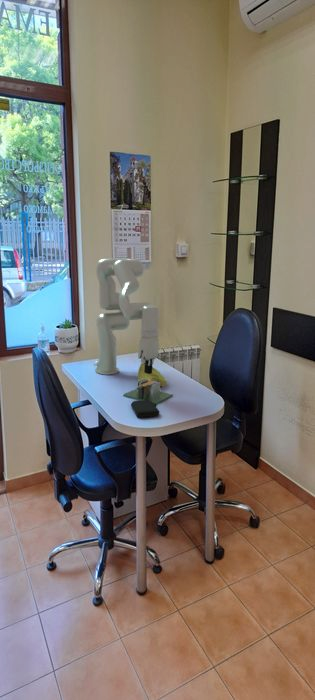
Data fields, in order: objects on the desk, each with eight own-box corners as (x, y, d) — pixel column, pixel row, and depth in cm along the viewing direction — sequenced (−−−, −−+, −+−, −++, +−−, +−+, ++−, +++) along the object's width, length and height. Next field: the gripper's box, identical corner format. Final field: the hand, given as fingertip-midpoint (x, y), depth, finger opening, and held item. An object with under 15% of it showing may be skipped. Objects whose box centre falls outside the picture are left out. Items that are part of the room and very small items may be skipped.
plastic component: (168, 382, 217) (151, 375, 213) (161, 395, 218) (144, 388, 214) (155, 368, 235) (139, 361, 231) (149, 380, 236) (133, 373, 232)
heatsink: (122, 396, 203) (122, 382, 201) (141, 387, 215) (141, 374, 213) (155, 405, 194) (155, 390, 192) (173, 395, 206) (173, 381, 204)
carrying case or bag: (162, 418, 181) (153, 405, 195) (163, 411, 180) (154, 398, 194) (137, 420, 178) (129, 406, 192) (137, 412, 178) (129, 399, 191)
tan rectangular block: (140, 394, 201) (140, 385, 200) (151, 389, 208) (152, 380, 207) (144, 395, 199) (144, 386, 198) (156, 390, 207) (156, 381, 206)
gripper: (152, 329, 205) (150, 367, 210) (132, 335, 193) (131, 375, 198) (165, 332, 201) (164, 370, 206) (146, 337, 189) (145, 378, 194)
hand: (148, 373), depth 202 cm, fingers closed
